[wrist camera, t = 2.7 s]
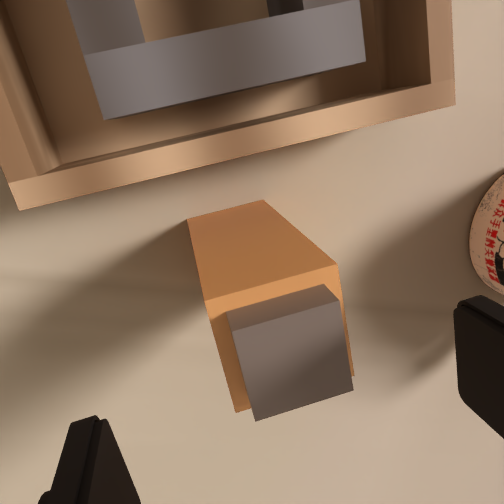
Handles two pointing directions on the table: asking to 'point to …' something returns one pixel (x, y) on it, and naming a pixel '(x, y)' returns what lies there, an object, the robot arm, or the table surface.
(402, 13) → the oak box
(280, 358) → the block
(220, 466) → the table surface
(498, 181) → the teacup with lid
